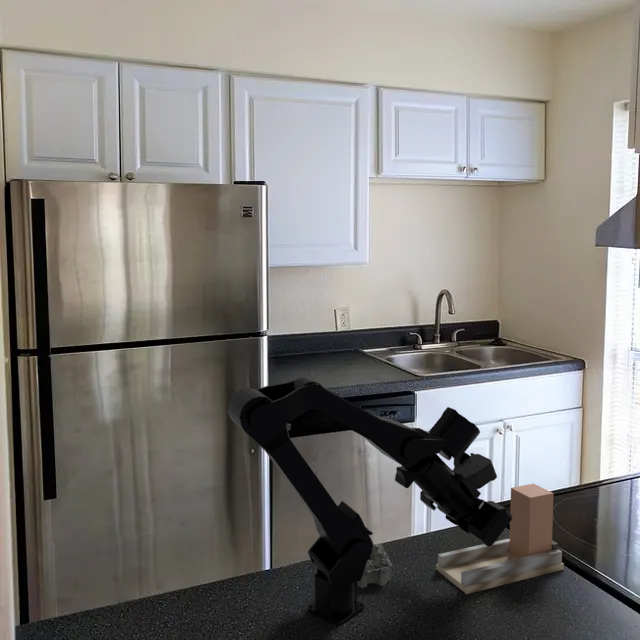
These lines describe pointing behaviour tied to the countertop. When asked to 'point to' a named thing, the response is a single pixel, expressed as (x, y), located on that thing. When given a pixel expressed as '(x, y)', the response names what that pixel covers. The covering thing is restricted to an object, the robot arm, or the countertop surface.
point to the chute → (494, 566)
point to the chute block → (530, 520)
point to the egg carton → (381, 563)
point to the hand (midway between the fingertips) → (490, 535)
